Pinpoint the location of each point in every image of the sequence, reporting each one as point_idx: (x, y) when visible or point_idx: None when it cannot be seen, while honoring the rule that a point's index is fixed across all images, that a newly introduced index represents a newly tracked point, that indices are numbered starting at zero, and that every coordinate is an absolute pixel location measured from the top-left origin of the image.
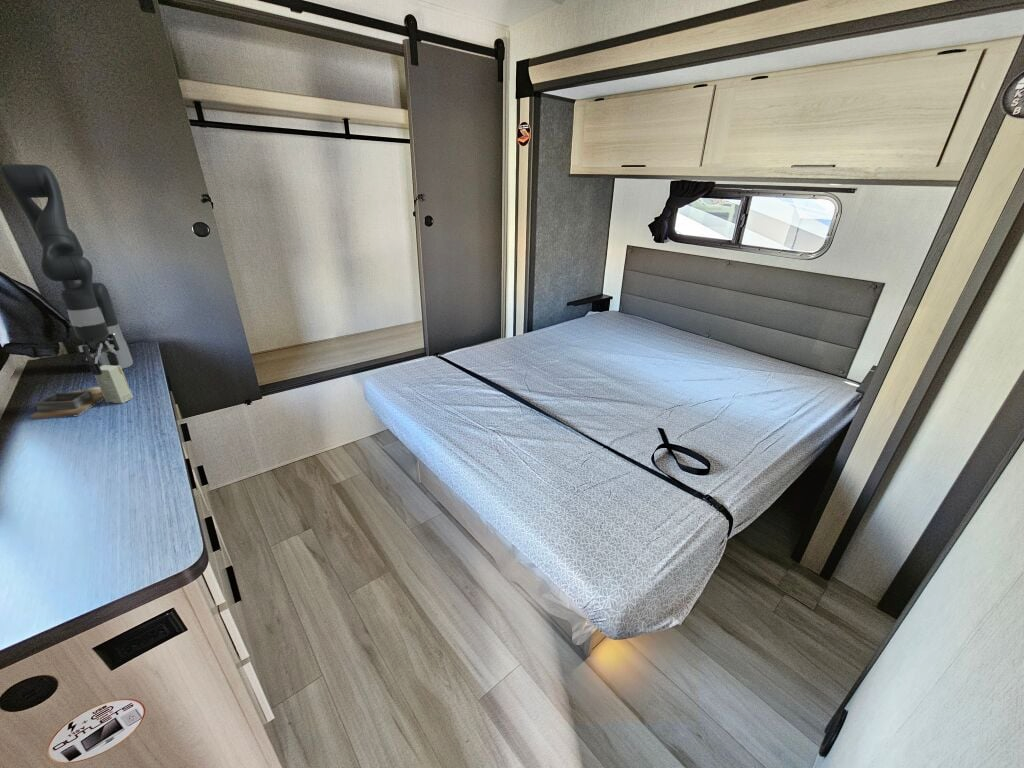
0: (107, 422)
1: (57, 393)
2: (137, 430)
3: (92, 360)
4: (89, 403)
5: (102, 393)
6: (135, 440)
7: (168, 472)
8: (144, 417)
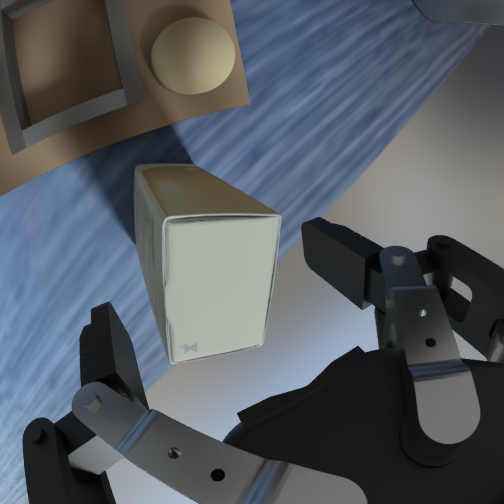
0: (17, 335)
1: None
2: None
3: (107, 478)
4: (81, 146)
5: (138, 176)
6: (18, 441)
7: (17, 497)
8: None
